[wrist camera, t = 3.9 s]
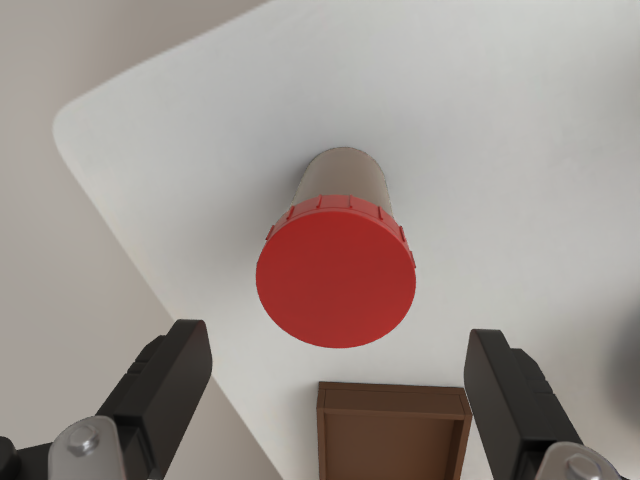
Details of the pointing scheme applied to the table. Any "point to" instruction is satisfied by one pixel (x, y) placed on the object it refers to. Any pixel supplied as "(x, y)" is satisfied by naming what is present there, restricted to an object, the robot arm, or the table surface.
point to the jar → (344, 178)
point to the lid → (336, 272)
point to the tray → (391, 431)
